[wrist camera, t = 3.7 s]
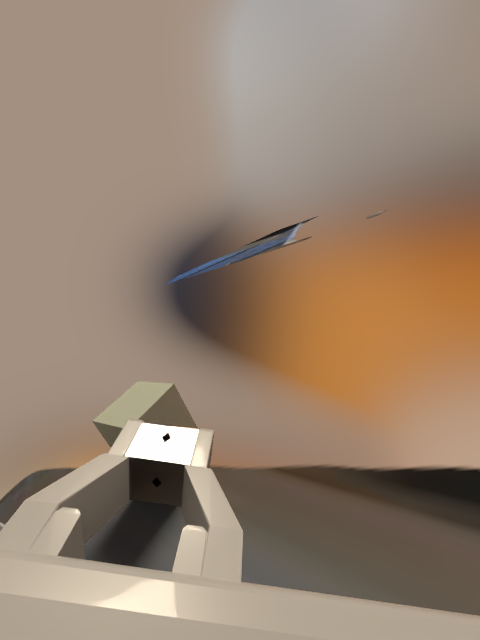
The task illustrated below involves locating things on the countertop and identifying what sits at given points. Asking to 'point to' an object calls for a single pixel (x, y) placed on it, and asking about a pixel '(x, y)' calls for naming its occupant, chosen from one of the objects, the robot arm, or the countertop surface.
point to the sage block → (144, 409)
